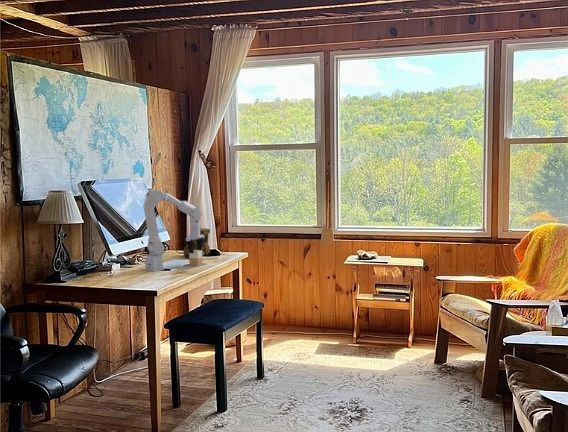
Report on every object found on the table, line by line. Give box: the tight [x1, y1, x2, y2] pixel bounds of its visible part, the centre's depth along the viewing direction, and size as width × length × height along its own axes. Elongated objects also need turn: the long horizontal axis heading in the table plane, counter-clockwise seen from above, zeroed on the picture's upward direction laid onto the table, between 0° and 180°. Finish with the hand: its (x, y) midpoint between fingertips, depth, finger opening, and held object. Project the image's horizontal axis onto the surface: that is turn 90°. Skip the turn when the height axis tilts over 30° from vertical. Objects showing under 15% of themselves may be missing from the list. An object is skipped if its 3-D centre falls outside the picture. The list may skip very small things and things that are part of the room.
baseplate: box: [170, 257, 208, 271], centre depth 325 cm, size 21×11×5 cm, turn 152°
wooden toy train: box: [183, 227, 211, 258], centre depth 362 cm, size 20×11×17 cm, turn 164°
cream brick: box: [188, 250, 203, 259], centre depth 329 cm, size 4×6×4 cm, turn 62°
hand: (195, 252), depth 329 cm, fingers open, 7 cm apart
